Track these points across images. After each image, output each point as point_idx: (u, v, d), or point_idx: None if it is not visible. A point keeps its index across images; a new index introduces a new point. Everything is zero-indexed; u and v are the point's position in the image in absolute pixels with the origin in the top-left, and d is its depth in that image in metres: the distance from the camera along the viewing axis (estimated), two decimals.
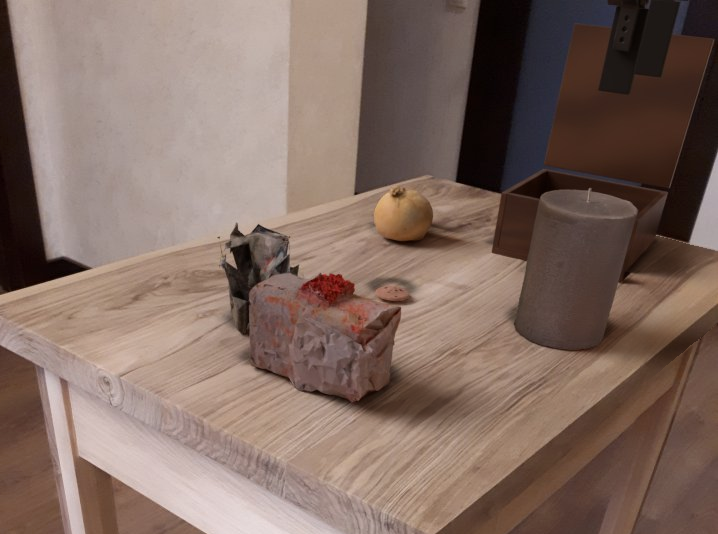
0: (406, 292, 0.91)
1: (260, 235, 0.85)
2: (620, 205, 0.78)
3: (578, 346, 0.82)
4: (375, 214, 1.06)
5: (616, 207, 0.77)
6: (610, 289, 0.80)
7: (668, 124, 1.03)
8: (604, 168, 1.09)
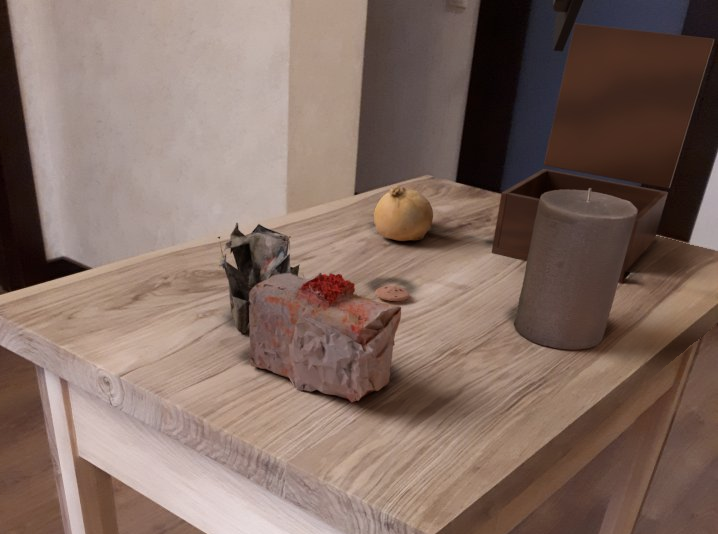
0: (406, 292, 0.91)
1: (260, 235, 0.85)
2: (620, 205, 0.78)
3: (578, 346, 0.82)
4: (375, 214, 1.06)
5: (616, 207, 0.77)
6: (610, 288, 0.80)
7: (668, 124, 1.03)
8: (604, 168, 1.09)
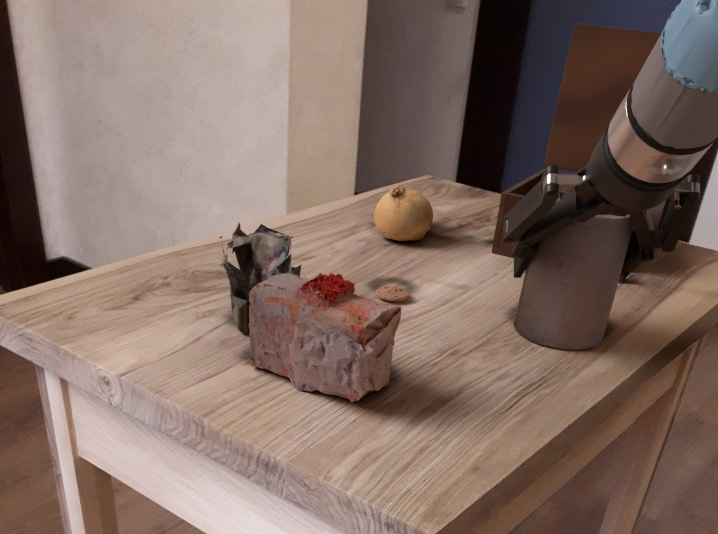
0: (406, 292, 0.91)
1: (262, 235, 0.85)
2: None
3: (578, 346, 0.82)
4: (375, 214, 1.06)
5: None
6: (610, 288, 0.80)
7: None
8: None
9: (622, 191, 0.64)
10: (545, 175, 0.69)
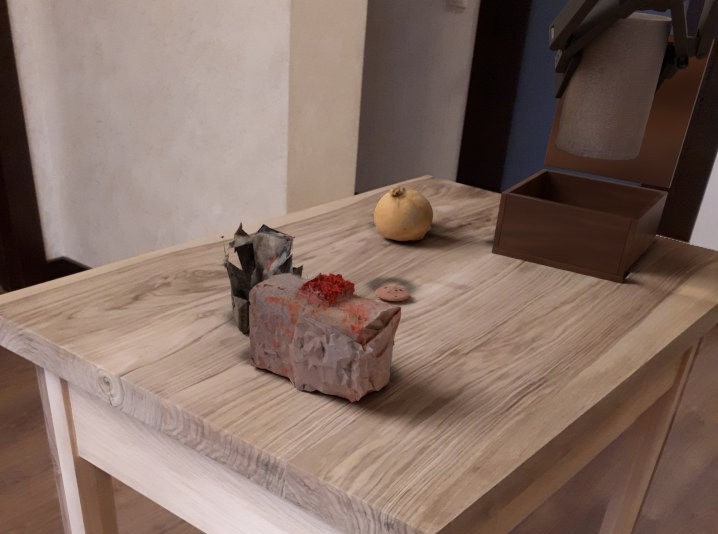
0: (406, 292, 0.91)
1: (264, 235, 0.85)
2: (657, 16, 0.84)
3: (617, 156, 0.88)
4: (375, 214, 1.06)
5: (654, 16, 0.83)
6: (647, 97, 0.86)
7: (668, 124, 1.03)
8: (604, 168, 1.09)
9: None
10: None
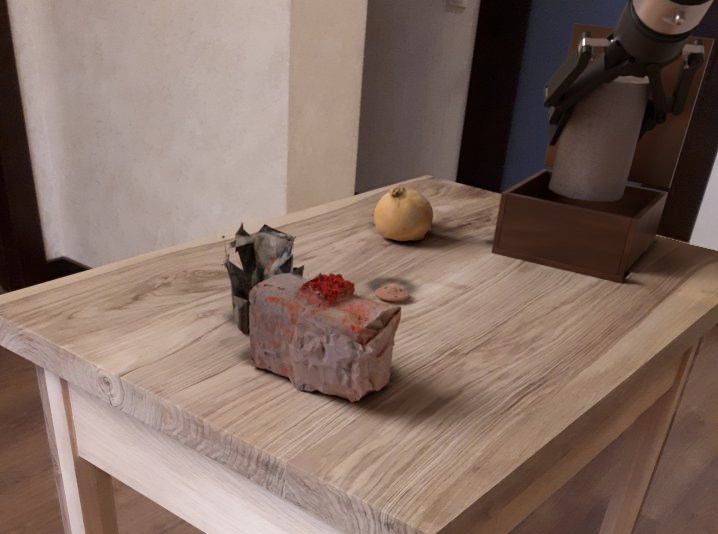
0: (406, 292, 0.91)
1: (265, 235, 0.85)
2: None
3: (603, 198, 1.00)
4: (375, 214, 1.06)
5: (635, 77, 0.95)
6: (630, 147, 0.98)
7: (668, 124, 1.03)
8: None
9: (643, 44, 0.82)
10: (581, 40, 0.87)
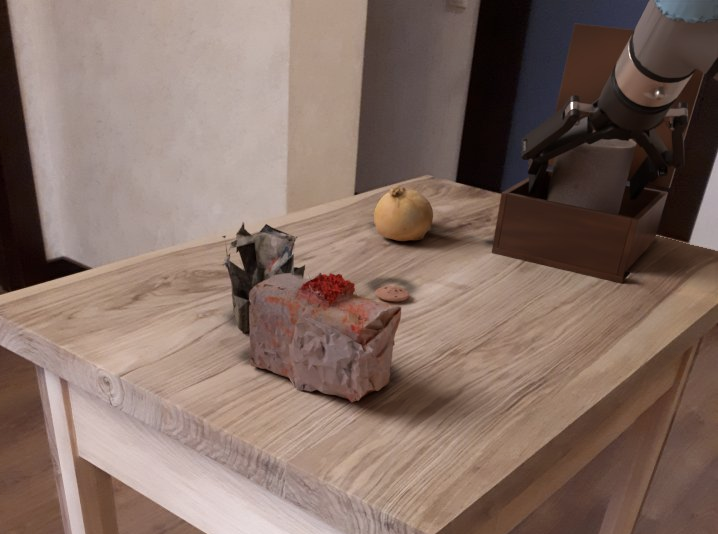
0: (406, 292, 0.91)
1: (266, 235, 0.85)
2: None
3: None
4: (375, 214, 1.06)
5: (619, 141, 0.99)
6: (614, 206, 1.02)
7: None
8: None
9: (626, 115, 0.86)
10: (569, 102, 0.90)
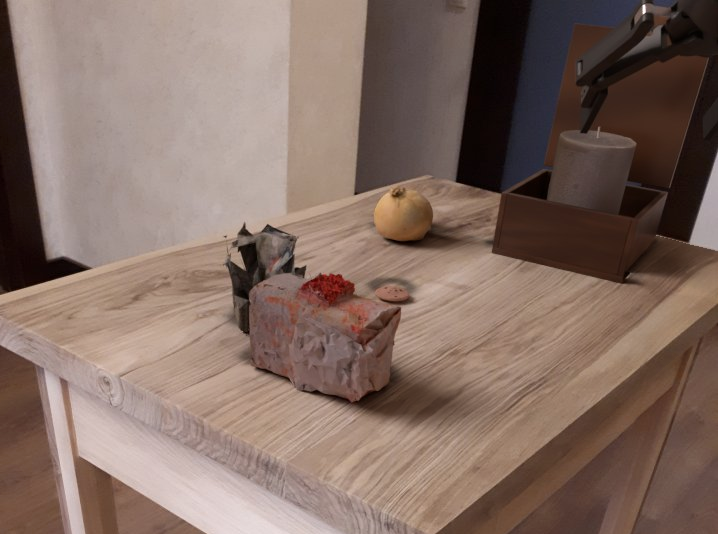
0: (406, 292, 0.91)
1: (267, 235, 0.85)
2: (623, 140, 1.00)
3: None
4: (375, 214, 1.06)
5: (619, 141, 0.99)
6: (614, 206, 1.02)
7: (668, 124, 1.03)
8: None
9: (717, 15, 0.67)
10: (641, 5, 0.71)
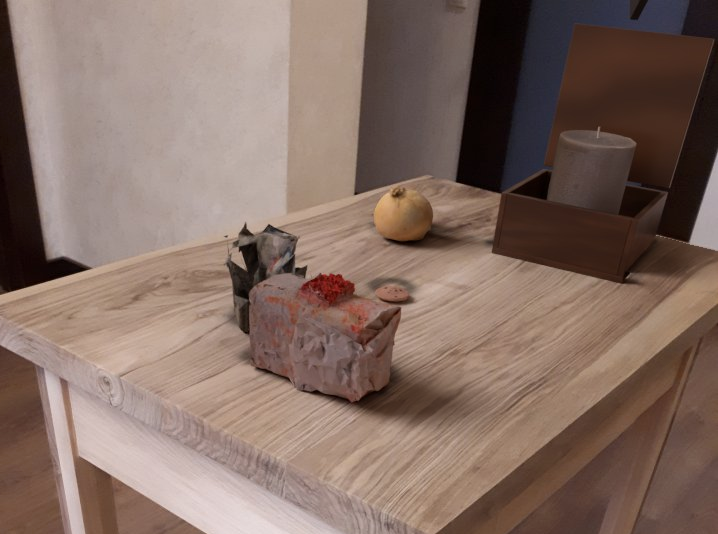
0: (406, 292, 0.91)
1: (268, 235, 0.85)
2: (623, 140, 1.00)
3: None
4: (375, 214, 1.06)
5: (619, 141, 0.99)
6: (614, 206, 1.02)
7: (668, 124, 1.03)
8: None
9: None
10: None
